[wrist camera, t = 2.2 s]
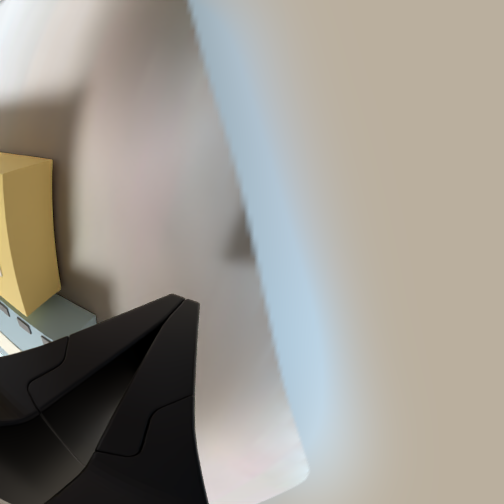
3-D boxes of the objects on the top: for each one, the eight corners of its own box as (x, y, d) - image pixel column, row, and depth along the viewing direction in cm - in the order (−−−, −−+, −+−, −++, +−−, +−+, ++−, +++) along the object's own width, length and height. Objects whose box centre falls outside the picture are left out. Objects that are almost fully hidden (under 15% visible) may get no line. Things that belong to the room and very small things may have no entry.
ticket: (114, 399, 14) (95, 427, 12) (-4, 315, 15) (-22, 330, 13) (95, 314, 11) (61, 348, 9) (-26, 237, 12) (-49, 251, 10)
